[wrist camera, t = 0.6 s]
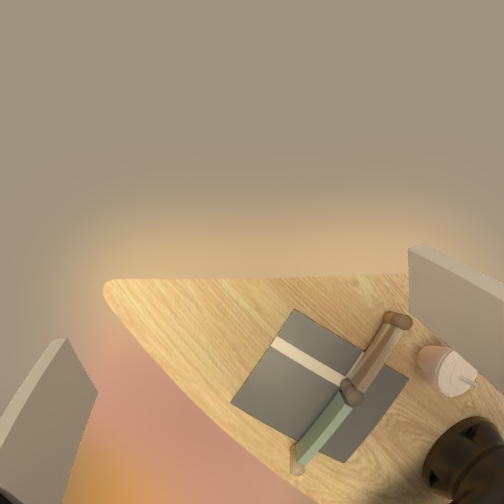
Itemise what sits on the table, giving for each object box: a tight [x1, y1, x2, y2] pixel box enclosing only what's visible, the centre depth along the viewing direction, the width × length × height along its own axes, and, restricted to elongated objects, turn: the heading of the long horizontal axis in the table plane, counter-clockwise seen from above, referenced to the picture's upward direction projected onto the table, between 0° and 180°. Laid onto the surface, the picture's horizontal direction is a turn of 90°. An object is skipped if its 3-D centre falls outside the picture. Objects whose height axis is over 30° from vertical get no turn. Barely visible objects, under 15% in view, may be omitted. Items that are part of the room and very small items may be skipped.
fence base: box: [340, 312, 413, 407], centre depth 35 cm, size 2×13×7 cm, turn 148°
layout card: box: [230, 309, 409, 463], centre depth 39 cm, size 20×16×1 cm
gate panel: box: [290, 391, 353, 476], centre depth 35 cm, size 12×2×6 cm, turn 148°
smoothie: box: [417, 345, 480, 397], centre depth 31 cm, size 6×6×14 cm
